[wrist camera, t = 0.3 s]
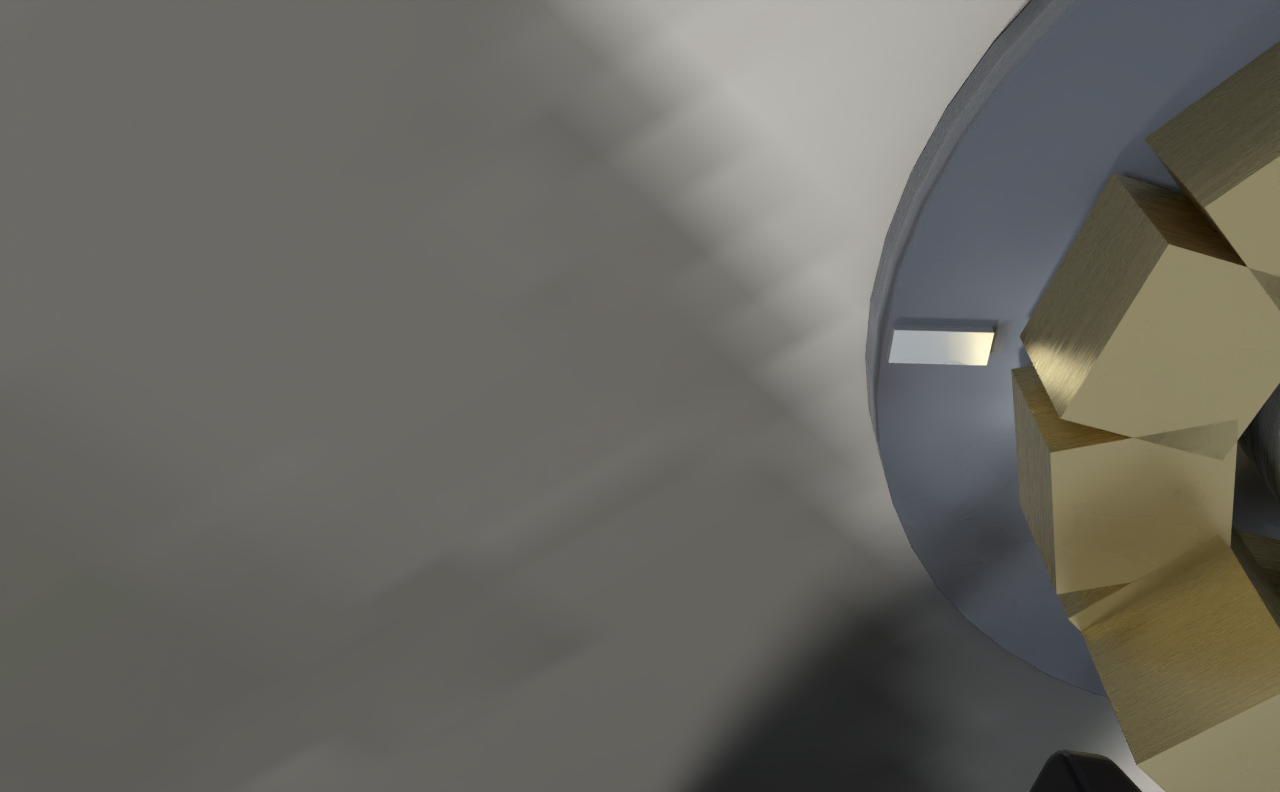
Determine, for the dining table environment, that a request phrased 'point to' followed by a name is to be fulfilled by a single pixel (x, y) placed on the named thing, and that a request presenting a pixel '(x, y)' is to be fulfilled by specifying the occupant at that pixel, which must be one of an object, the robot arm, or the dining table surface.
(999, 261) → the grey round tray
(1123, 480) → the tan segmented ring
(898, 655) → the dining table surface
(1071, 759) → the robot arm
